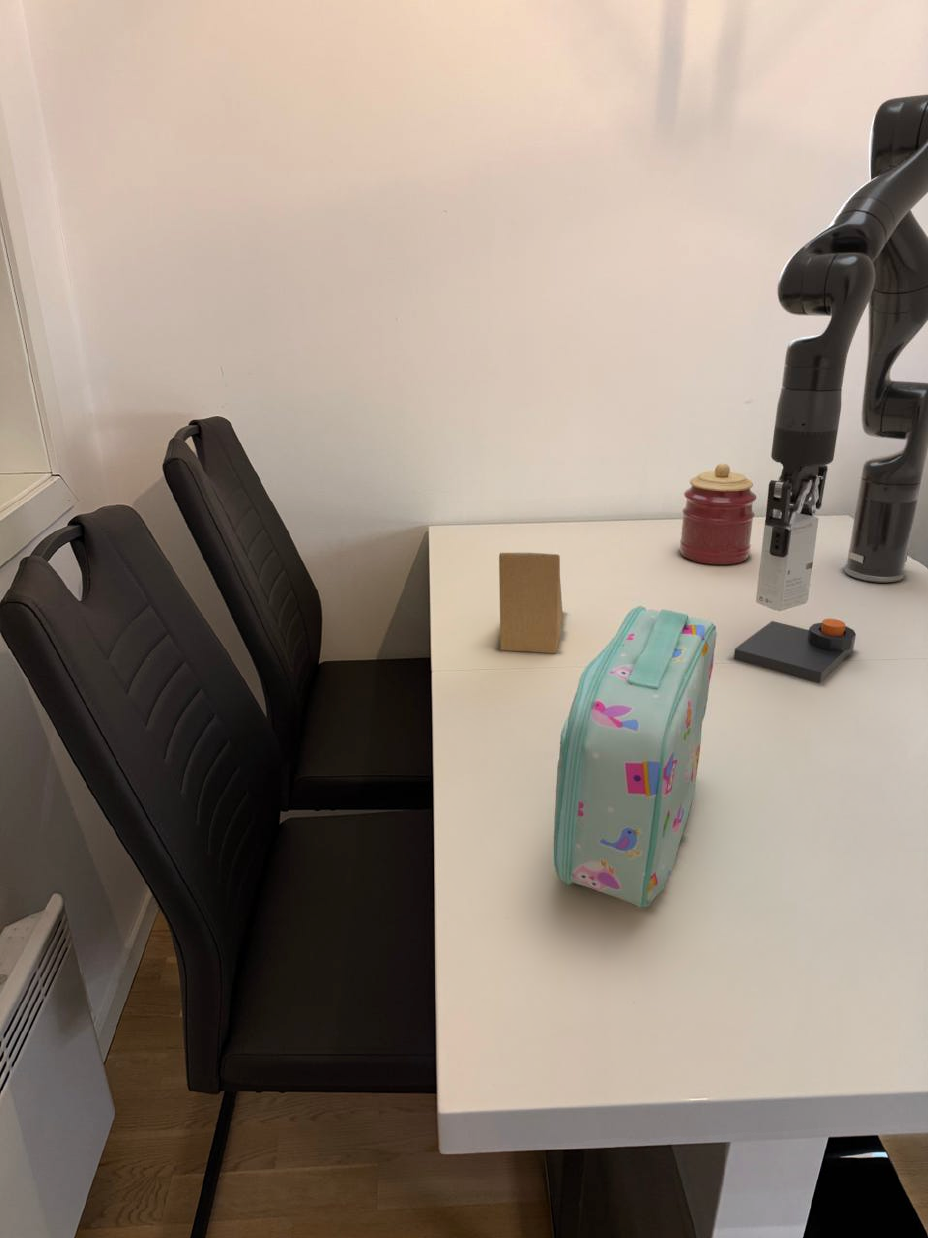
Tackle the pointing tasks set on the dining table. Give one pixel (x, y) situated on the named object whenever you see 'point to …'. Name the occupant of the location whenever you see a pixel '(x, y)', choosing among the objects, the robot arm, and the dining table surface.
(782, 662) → the button base plate
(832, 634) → the tare button
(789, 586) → the cosmetic box
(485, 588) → the dining table surface
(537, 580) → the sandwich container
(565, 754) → the lunch box
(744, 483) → the kitchen canister
